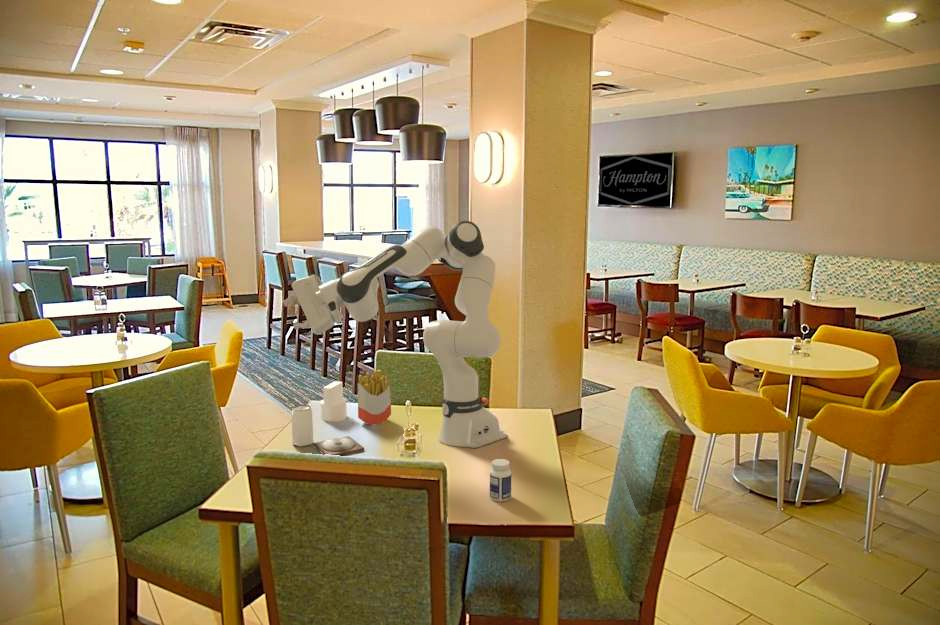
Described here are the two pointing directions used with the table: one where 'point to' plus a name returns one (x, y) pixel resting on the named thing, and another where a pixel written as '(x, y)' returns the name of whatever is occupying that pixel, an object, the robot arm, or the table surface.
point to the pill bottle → (500, 480)
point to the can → (302, 425)
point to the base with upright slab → (333, 402)
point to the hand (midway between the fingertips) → (288, 315)
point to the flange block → (339, 446)
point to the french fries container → (374, 398)
